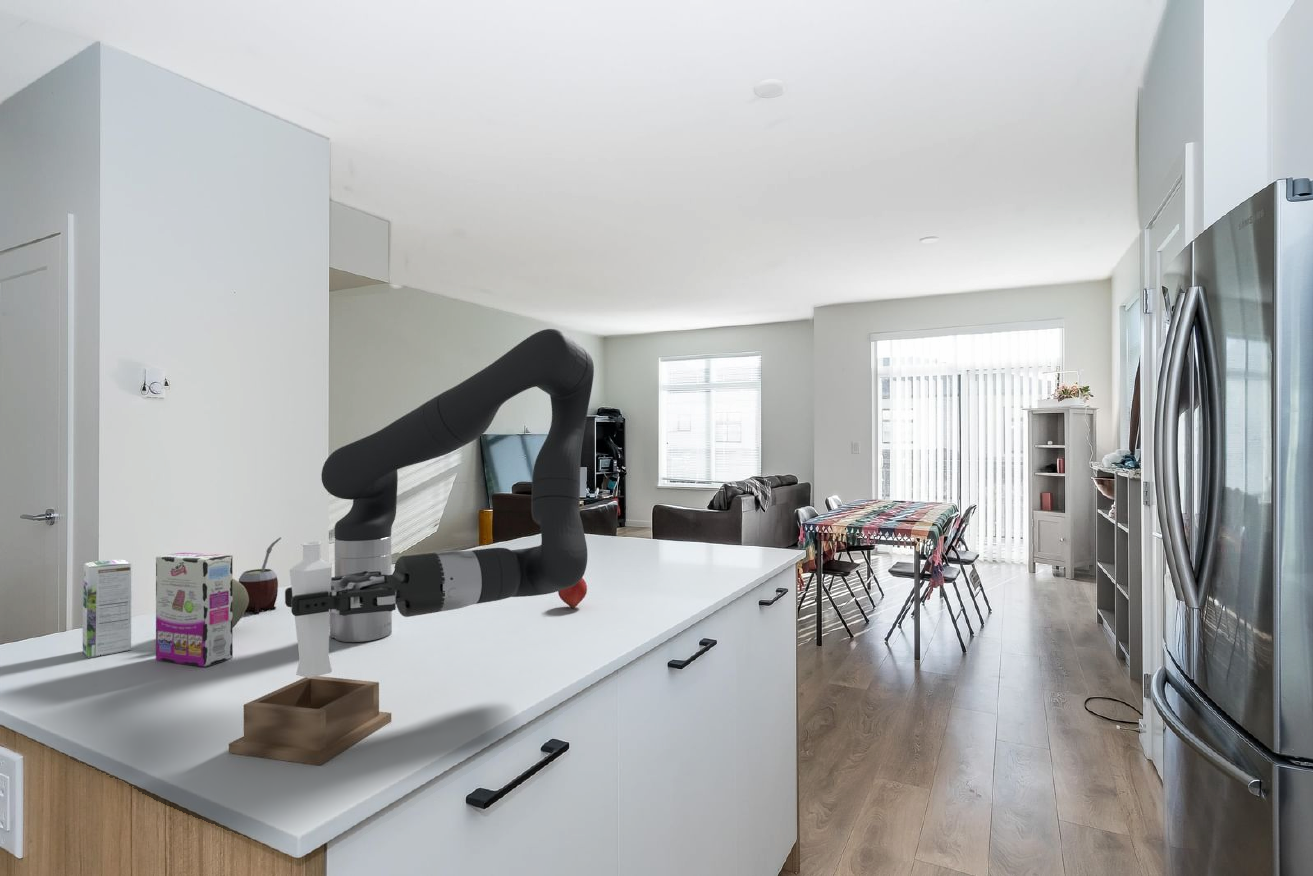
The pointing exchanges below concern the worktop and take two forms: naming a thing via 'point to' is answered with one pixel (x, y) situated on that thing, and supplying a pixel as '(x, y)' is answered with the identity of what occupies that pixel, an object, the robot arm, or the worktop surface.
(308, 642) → the perfume bottle
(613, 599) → the worktop surface
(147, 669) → the worktop surface
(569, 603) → the onion
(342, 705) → the holder
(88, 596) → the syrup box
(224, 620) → the candy bar box
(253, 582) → the mate gourd
